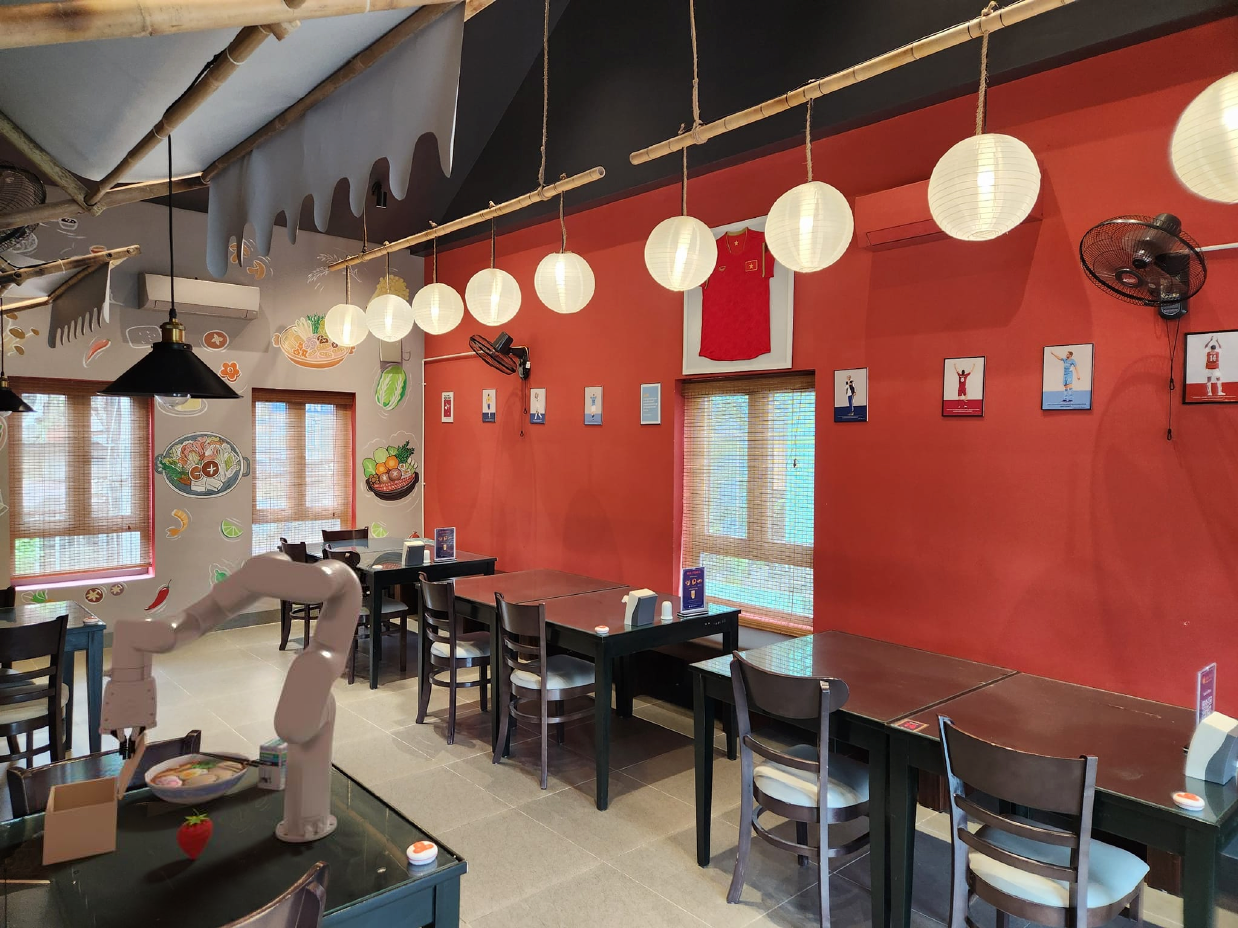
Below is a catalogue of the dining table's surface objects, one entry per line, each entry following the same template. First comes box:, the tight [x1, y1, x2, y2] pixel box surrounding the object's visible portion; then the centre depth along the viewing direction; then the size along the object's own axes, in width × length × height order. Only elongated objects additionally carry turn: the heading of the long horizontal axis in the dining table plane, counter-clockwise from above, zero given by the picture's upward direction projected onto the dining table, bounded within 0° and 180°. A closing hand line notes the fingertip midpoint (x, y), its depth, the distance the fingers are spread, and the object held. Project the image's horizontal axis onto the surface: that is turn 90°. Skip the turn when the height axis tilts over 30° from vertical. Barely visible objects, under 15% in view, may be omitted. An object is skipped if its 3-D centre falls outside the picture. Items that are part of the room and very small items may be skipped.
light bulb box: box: [257, 736, 287, 791], centre depth 193 cm, size 11×7×11 cm, turn 168°
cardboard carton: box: [42, 775, 119, 866], centre depth 159 cm, size 16×12×10 cm
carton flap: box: [117, 730, 148, 800], centre depth 164 cm, size 16×12×1 cm
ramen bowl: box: [144, 749, 265, 805], centre depth 182 cm, size 25×23×8 cm
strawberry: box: [176, 808, 214, 860], centre depth 153 cm, size 6×8×10 cm
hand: (126, 757), depth 164 cm, fingers closed
